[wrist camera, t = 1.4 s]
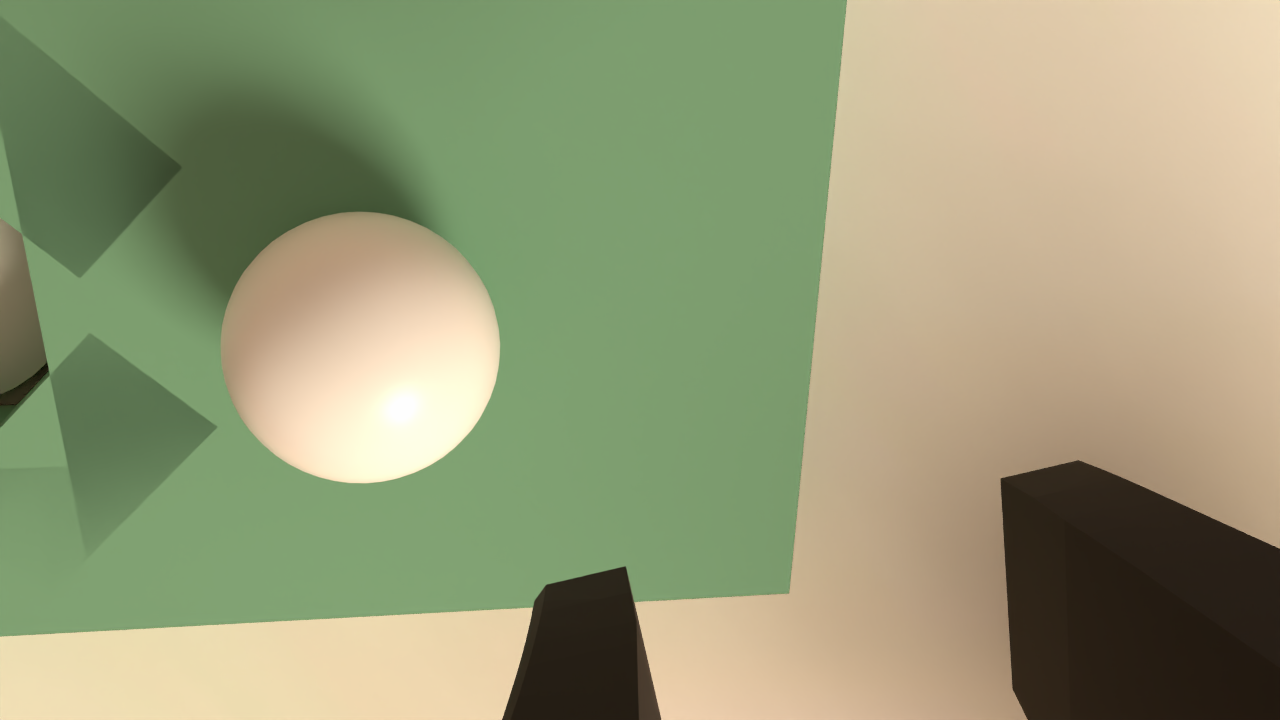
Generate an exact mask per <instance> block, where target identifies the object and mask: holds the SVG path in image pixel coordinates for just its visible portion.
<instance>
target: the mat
mask: <svg viewBox="0 0 1280 720" xmlns="http://www.w3.org/2000/svg"><path fill="white" fill-rule="evenodd" d="M846 4H847V0H0V395H1V394H3V393H5V392H7V391H9V390H11V389H13V388H15V387H17V386H18V385H20V384H21V383H23V382H24V381H26V380H27V379H29V378H30V377H32V376H33V375H34V374H35V373H36V372H37V371H38V370H39V369H41V368H42V367H43V366H44V365H45V364H46V363H48V368H49V371H48V372H47V373H46V374H45V375H44V376H43V377H42V378H41V380H40V381H39V382H38V383H37V384H36V385H35V386H34V387H33V388H32V389H31V390H30V391H29V392H28V393H27V394H26V396H25V397H24V398H23V399H22V400H21V401H20V402H19V403H18V404H17V405H0V636H17V635H36V634H54V633H72V632H91V631H109V630H127V629H146V628H164V627H182V626H201V625H219V624H237V623H256V622H274V621H292V620H311V619H329V618H347V617H366V616H384V615H402V614H421V613H439V612H457V611H476V610H494V609H512V608H531V607H533V605H534V601H535V599H536V598H537V596H538V595H539V594H540V592H541V591H542V590H543V588H544V587H545V585H547V584H551V583H556V582H560V581H564V580H568V579H573V578H577V577H581V576H586V575H590V574H594V573H598V572H603V571H607V570H611V569H616V568H620V567H624V566H626V569H627V573H628V577H629V582H630V586H631V590H632V595H633V599H634V602H641V601H659V600H677V599H696V598H714V597H732V596H751V595H769V594H787V593H789V589H790V579H791V568H792V558H793V548H794V538H795V527H796V517H797V507H798V496H799V486H800V476H801V466H802V455H803V445H804V435H805V425H806V414H807V404H808V394H809V384H810V373H811V363H812V353H813V342H814V332H815V322H816V312H817V301H818V291H819V281H820V271H821V260H822V250H823V240H824V230H825V219H826V209H827V199H828V189H829V178H830V168H831V158H832V147H833V137H834V127H835V117H836V106H837V96H838V86H839V76H840V65H841V55H842V45H843V35H844V24H845V14H846ZM345 212H376V213H382V214H388V215H393V216H397V217H400V218H403V219H406V220H410V221H412V222H414V223H417V224H419V225H421V226H423V227H426V228H428V229H429V230H431V231H432V232H434V233H436V234H437V235H439V236H441V237H442V238H443V239H445V240H446V241H447V242H449V243H450V244H451V245H452V246H454V247H455V248H456V249H457V250H458V251H459V252H460V253H461V254H462V255H463V256H464V257H465V258H466V259H467V261H468V262H469V263H470V265H471V266H472V267H473V269H474V270H475V271H476V273H477V274H478V275H479V277H480V279H481V280H482V282H483V284H484V286H485V288H486V289H487V291H488V294H489V296H490V299H491V301H492V304H493V306H494V310H495V315H496V319H497V323H498V327H499V337H500V359H499V368H498V373H497V378H496V383H495V386H494V389H493V391H492V394H491V397H490V399H489V401H488V404H487V406H486V407H485V409H484V411H483V413H482V415H481V417H480V419H479V420H478V422H477V423H476V424H475V426H474V427H473V429H472V430H471V431H470V432H469V434H468V435H467V436H466V437H465V438H464V439H463V440H462V441H461V442H460V443H459V444H458V445H457V446H456V447H455V448H454V449H453V450H451V451H450V452H449V453H448V454H446V455H445V456H444V457H443V458H441V459H439V460H438V461H436V462H435V463H433V464H432V465H430V466H428V467H426V468H424V469H421V470H419V471H417V472H415V473H412V474H409V475H406V476H403V477H400V478H397V479H393V480H388V481H383V482H374V483H346V482H338V481H332V480H328V479H324V478H320V477H317V476H314V475H311V474H309V473H306V472H303V471H301V470H299V469H297V468H295V467H293V466H291V465H289V464H288V463H286V462H285V461H283V460H282V459H280V458H279V457H277V456H276V455H275V454H273V453H272V452H271V451H270V450H269V449H268V448H266V447H265V446H264V445H263V444H262V443H261V442H260V441H259V440H258V439H257V438H256V437H255V436H254V435H253V434H252V432H251V431H250V430H249V429H248V427H247V426H246V425H245V423H244V422H243V420H242V419H241V418H240V416H239V414H238V412H237V410H236V408H235V406H234V404H233V402H232V400H231V397H230V394H229V392H228V389H227V386H226V383H225V380H224V375H223V370H222V365H221V331H222V323H223V319H224V315H225V311H226V308H227V305H228V302H229V300H230V297H231V295H232V292H233V290H234V288H235V286H236V284H237V282H238V281H239V279H240V277H241V276H242V274H243V272H244V271H245V270H246V268H247V267H248V266H249V265H250V264H251V262H252V261H253V260H254V259H255V258H256V256H257V255H258V254H259V253H260V252H261V251H262V250H263V249H264V248H266V247H267V246H268V245H269V244H270V243H271V242H272V241H274V240H275V239H277V238H278V237H280V236H281V235H283V234H284V233H286V232H287V231H289V230H291V229H293V228H295V227H297V226H299V225H301V224H303V223H305V222H308V221H311V220H314V219H317V218H320V217H323V216H327V215H332V214H337V213H345Z"/></svg>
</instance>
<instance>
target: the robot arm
mask: <svg viewBox="0 0 1280 720" xmlns="http://www.w3.org/2000/svg"><path fill="white" fill-rule="evenodd" d="M1001 495H1002V512H1003V530H1004V547H1005V564H1006V582H1007V599H1008V616H1009V634H1010V651H1011V668H1012V686H1013V691H1014V693H1015V695H1016V697H1017V699H1018V701H1019V703H1020V705H1021V707H1022V709H1023V711H1024V713H1025V715H1026V717H1027V719H1028V720H1280V549H1279V548H1277V547H1274V546H1272V545H1270V544H1268V543H1265V542H1263V541H1261V540H1259V539H1257V538H1254V537H1252V536H1250V535H1248V534H1245V533H1243V532H1241V531H1239V530H1237V529H1234V528H1232V527H1230V526H1228V525H1226V524H1223V523H1221V522H1219V521H1217V520H1215V519H1212V518H1210V517H1208V516H1206V515H1204V514H1201V513H1199V512H1197V511H1195V510H1193V509H1190V508H1188V507H1186V506H1184V505H1182V504H1180V503H1177V502H1175V501H1173V500H1171V499H1168V498H1166V497H1164V496H1162V495H1160V494H1157V493H1155V492H1153V491H1151V490H1148V489H1146V488H1144V487H1142V486H1140V485H1137V484H1135V483H1133V482H1130V481H1128V480H1126V479H1124V478H1121V477H1119V476H1117V475H1114V474H1112V473H1109V472H1107V471H1105V470H1102V469H1100V468H1097V467H1094V466H1092V465H1089V464H1087V463H1084V462H1081V461H1079V460H1078V461H1074V462H1069V463H1065V464H1061V465H1057V466H1052V467H1048V468H1044V469H1040V470H1035V471H1031V472H1027V473H1022V474H1018V475H1014V476H1010V477H1005V478H1001ZM502 720H661V716H660V712H659V708H658V703H657V699H656V695H655V690H654V686H653V682H652V677H651V673H650V669H649V664H648V660H647V655H646V651H645V647H644V642H643V638H642V634H641V629H640V625H639V621H638V616H637V612H636V608H635V603H634V599H633V595H632V590H631V586H630V582H629V577H628V573H627V569H626V566H624V567H620V568H616V569H611V570H607V571H603V572H598V573H594V574H590V575H586V576H581V577H577V578H573V579H568V580H564V581H560V582H556V583H551V584H547V585H545V587H544V588H543V590H542V591H541V592H540V594H539V595H538V596H537V598H536V599H535V601H534V605H533V611H532V617H531V622H530V626H529V630H528V634H527V638H526V643H525V646H524V650H523V654H522V658H521V661H520V665H519V668H518V671H517V675H516V678H515V681H514V685H513V688H512V691H511V694H510V697H509V700H508V703H507V707H506V710H505V713H504V716H503V719H502Z"/></svg>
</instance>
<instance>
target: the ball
mask: <svg viewBox="0 0 1280 720" xmlns="http://www.w3.org/2000/svg"><path fill="white" fill-rule="evenodd" d="M499 359H500V337H499V327H498V323H497V319H496V315H495V310H494V306H493V304H492V301H491V299H490V296H489V294H488V291H487V289H486V288H485V286H484V284H483V282H482V280H481V279H480V277H479V275H478V274H477V273H476V271H475V270H474V269H473V267H472V266H471V265H470V263H469V262H468V261H467V259H466V258H465V257H464V256H463V255H462V254H461V253H460V252H459V251H458V250H457V249H456V248H455V247H454V246H452V245H451V244H450V243H449V242H447V241H446V240H445V239H443V238H442V237H441V236H439V235H437V234H436V233H434V232H432V231H431V230H429V229H428V228H426V227H423V226H421V225H419V224H417V223H414V222H412V221H410V220H406V219H403V218H400V217H397V216H393V215H388V214H382V213H376V212H345V213H337V214H332V215H327V216H323V217H320V218H317V219H314V220H311V221H308V222H305V223H303V224H301V225H299V226H297V227H295V228H293V229H291V230H289V231H287V232H286V233H284V234H283V235H281V236H280V237H278V238H277V239H275V240H274V241H272V242H271V243H270V244H269V245H268V246H267V247H266V248H264V249H263V250H262V251H261V252H260V253H259V254H258V255H257V256H256V258H255V259H254V260H253V261H252V262H251V264H250V265H249V266H248V267H247V268H246V270H245V271H244V272H243V274H242V276H241V277H240V279H239V281H238V282H237V284H236V286H235V288H234V290H233V292H232V295H231V297H230V300H229V302H228V305H227V308H226V311H225V315H224V319H223V323H222V331H221V365H222V370H223V375H224V380H225V383H226V386H227V389H228V392H229V394H230V397H231V400H232V402H233V404H234V406H235V408H236V410H237V412H238V414H239V416H240V418H241V419H242V420H243V422H244V423H245V425H246V426H247V427H248V429H249V430H250V431H251V432H252V434H253V435H254V436H255V437H256V438H257V439H258V440H259V441H260V442H261V443H262V444H263V445H264V446H265V447H266V448H268V449H269V450H270V451H271V452H272V453H273V454H275V455H276V456H277V457H279V458H280V459H282V460H283V461H285V462H286V463H288V464H289V465H291V466H293V467H295V468H297V469H299V470H301V471H303V472H306V473H309V474H311V475H314V476H317V477H320V478H324V479H328V480H332V481H338V482H346V483H374V482H383V481H388V480H393V479H397V478H400V477H403V476H406V475H409V474H412V473H415V472H417V471H419V470H421V469H424V468H426V467H428V466H430V465H432V464H433V463H435V462H436V461H438V460H439V459H441V458H443V457H444V456H445V455H446V454H448V453H449V452H450V451H451V450H453V449H454V448H455V447H456V446H457V445H458V444H459V443H460V442H461V441H462V440H463V439H464V438H465V437H466V436H467V435H468V434H469V432H470V431H471V430H472V429H473V427H474V426H475V424H476V423H477V422H478V420H479V419H480V417H481V415H482V413H483V411H484V409H485V407H486V406H487V404H488V401H489V399H490V397H491V394H492V391H493V389H494V386H495V383H496V378H497V373H498V368H499Z"/></svg>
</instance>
